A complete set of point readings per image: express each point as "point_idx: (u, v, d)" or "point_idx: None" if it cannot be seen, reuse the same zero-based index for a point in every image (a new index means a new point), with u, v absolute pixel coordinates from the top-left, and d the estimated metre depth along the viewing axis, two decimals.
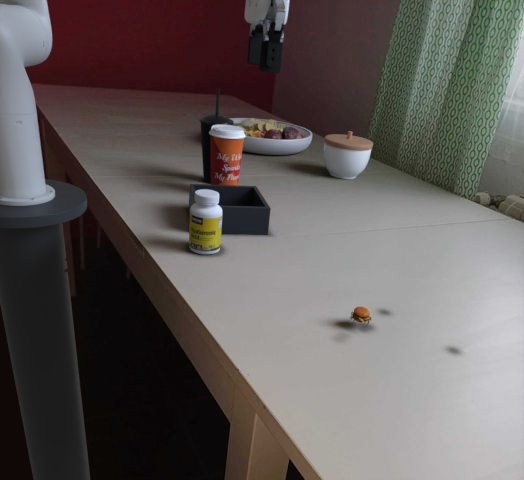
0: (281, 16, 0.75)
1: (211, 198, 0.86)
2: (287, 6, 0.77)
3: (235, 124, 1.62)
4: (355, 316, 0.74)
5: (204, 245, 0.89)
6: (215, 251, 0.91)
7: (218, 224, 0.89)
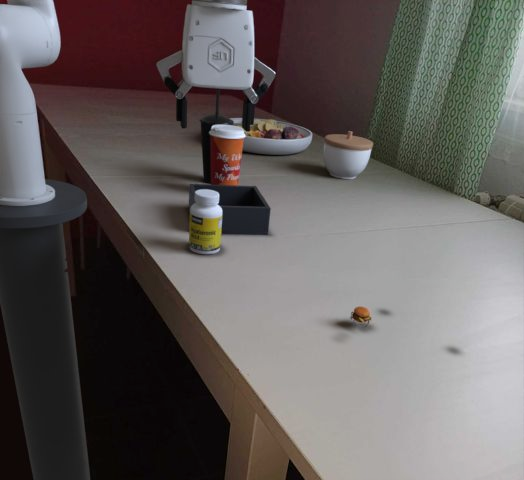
0: None
1: (211, 198, 0.86)
2: None
3: (235, 124, 1.62)
4: (355, 316, 0.74)
5: (204, 245, 0.89)
6: (215, 251, 0.91)
7: (218, 224, 0.89)
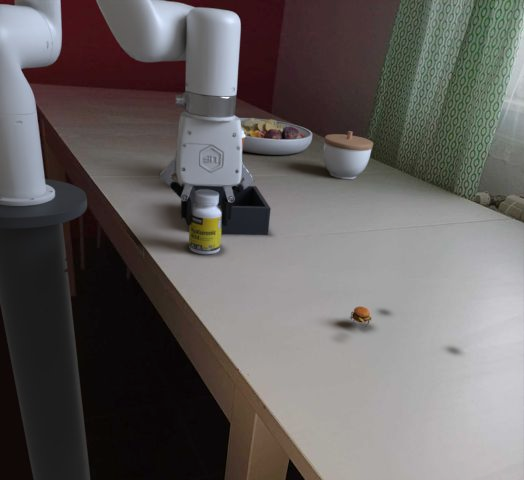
0: None
1: (211, 198, 0.86)
2: None
3: None
4: (355, 316, 0.74)
5: (204, 245, 0.89)
6: (215, 251, 0.91)
7: (218, 224, 0.89)
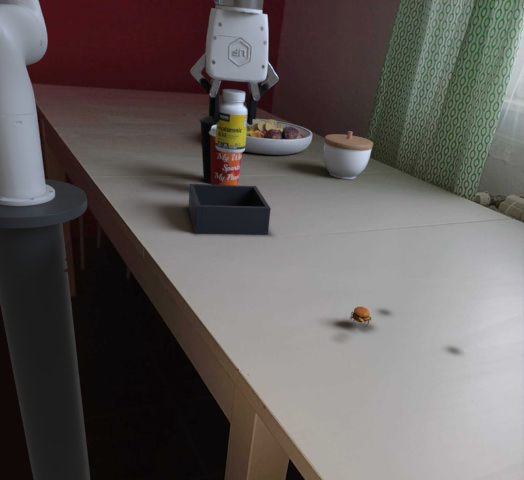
0: None
1: (238, 95, 0.91)
2: None
3: None
4: (355, 316, 0.74)
5: (230, 143, 0.94)
6: (240, 150, 0.96)
7: (244, 122, 0.93)
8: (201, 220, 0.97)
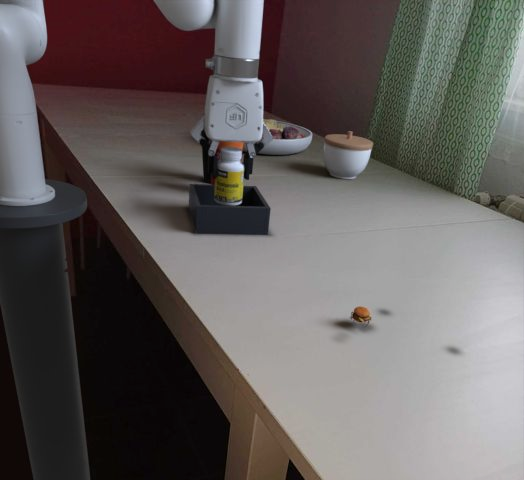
0: None
1: (235, 153, 0.97)
2: None
3: None
4: (355, 316, 0.74)
5: (228, 197, 1.00)
6: (238, 203, 1.02)
7: (241, 178, 0.99)
8: (201, 220, 0.97)
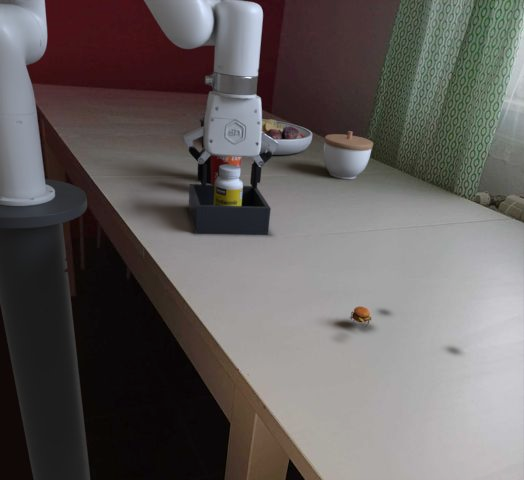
0: None
1: (234, 172, 0.98)
2: None
3: None
4: (355, 316, 0.74)
5: None
6: None
7: (239, 195, 1.01)
8: (201, 220, 0.97)
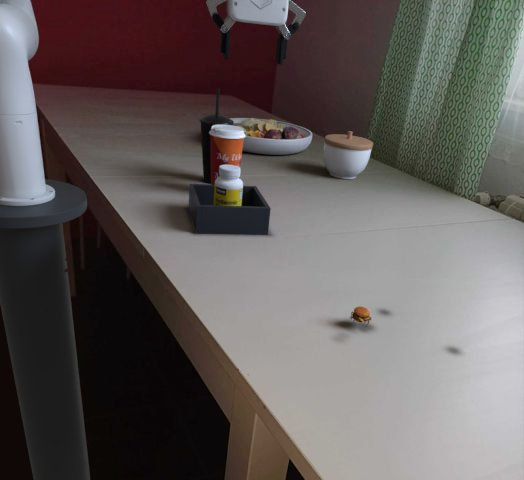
0: None
1: (234, 172, 0.98)
2: None
3: (235, 124, 1.62)
4: (355, 316, 0.74)
5: None
6: None
7: (239, 195, 1.01)
8: (201, 220, 0.97)
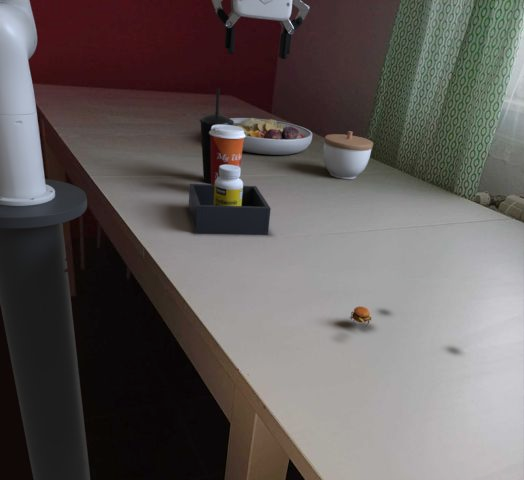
0: None
1: (234, 172, 0.98)
2: None
3: (235, 124, 1.62)
4: (355, 316, 0.74)
5: None
6: None
7: (239, 195, 1.01)
8: (201, 220, 0.97)
